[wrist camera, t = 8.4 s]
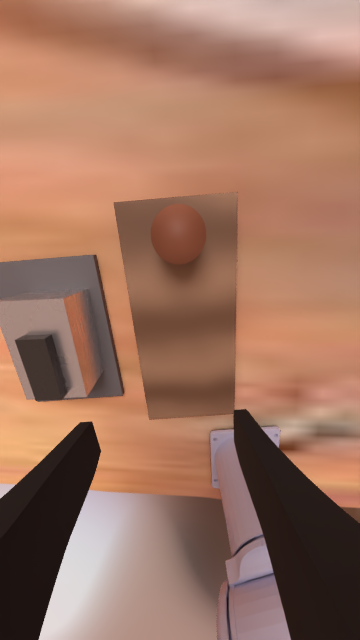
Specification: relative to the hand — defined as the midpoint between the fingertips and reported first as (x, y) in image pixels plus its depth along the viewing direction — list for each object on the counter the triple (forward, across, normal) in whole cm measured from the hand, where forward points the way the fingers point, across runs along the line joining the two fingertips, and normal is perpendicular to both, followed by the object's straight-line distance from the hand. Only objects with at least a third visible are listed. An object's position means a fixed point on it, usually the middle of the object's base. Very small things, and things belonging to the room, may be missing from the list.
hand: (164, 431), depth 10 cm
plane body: (+10, -2, -3) cm, 10 cm away
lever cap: (+9, +9, -2) cm, 13 cm away
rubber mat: (+10, +10, -2) cm, 14 cm away
